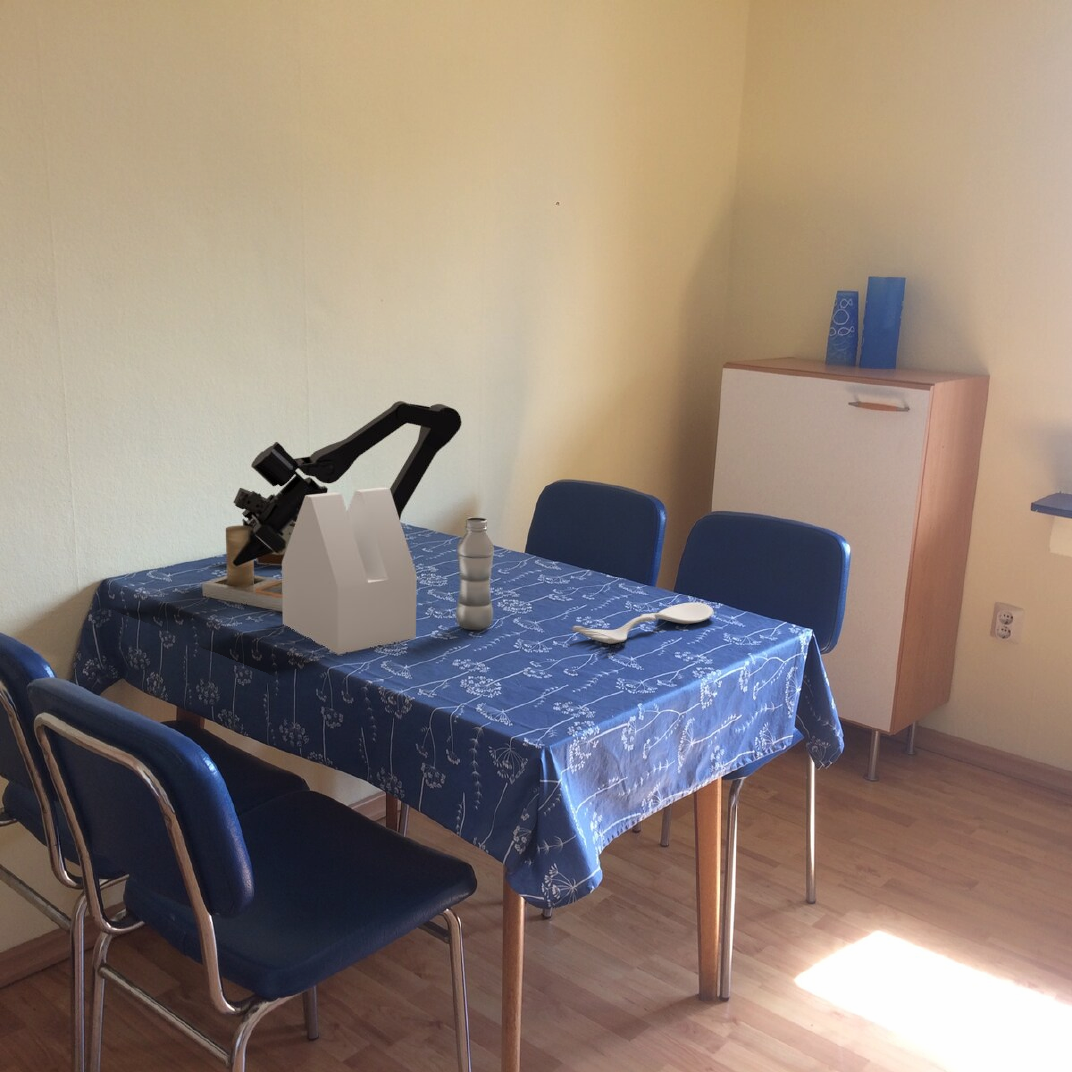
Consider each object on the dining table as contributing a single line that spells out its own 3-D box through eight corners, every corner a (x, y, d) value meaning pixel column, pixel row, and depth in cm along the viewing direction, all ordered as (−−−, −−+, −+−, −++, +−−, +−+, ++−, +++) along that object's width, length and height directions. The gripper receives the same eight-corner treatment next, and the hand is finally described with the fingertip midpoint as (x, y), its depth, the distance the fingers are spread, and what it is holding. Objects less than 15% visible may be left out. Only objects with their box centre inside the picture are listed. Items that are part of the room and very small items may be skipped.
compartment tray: (324, 600, 212) (324, 586, 212) (292, 613, 204) (291, 598, 203) (237, 584, 221) (237, 570, 220) (202, 595, 212) (202, 581, 211)
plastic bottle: (495, 633, 197) (498, 523, 192) (456, 634, 195) (459, 523, 191) (490, 622, 203) (493, 515, 198) (453, 623, 202) (455, 515, 197)
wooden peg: (259, 592, 216) (258, 527, 213) (242, 598, 211) (241, 532, 208) (239, 588, 218) (237, 524, 215) (221, 594, 213) (220, 529, 210)
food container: (315, 559, 242) (315, 515, 239) (307, 567, 236) (306, 521, 233) (260, 556, 243) (259, 511, 240) (250, 563, 237) (249, 517, 234)
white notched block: (415, 638, 193) (417, 497, 187) (338, 655, 183) (337, 506, 177) (357, 611, 207) (358, 479, 201) (282, 625, 197) (280, 486, 192)
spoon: (569, 643, 194) (570, 624, 193) (685, 610, 216) (686, 593, 215) (607, 656, 188) (609, 637, 187) (722, 621, 209) (724, 604, 209)
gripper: (252, 465, 219) (196, 523, 217) (266, 483, 202) (205, 545, 201) (293, 503, 224) (238, 559, 222) (310, 523, 207) (251, 584, 205)
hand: (232, 561), depth 212 cm, fingers closed on wooden peg, 5 cm apart
